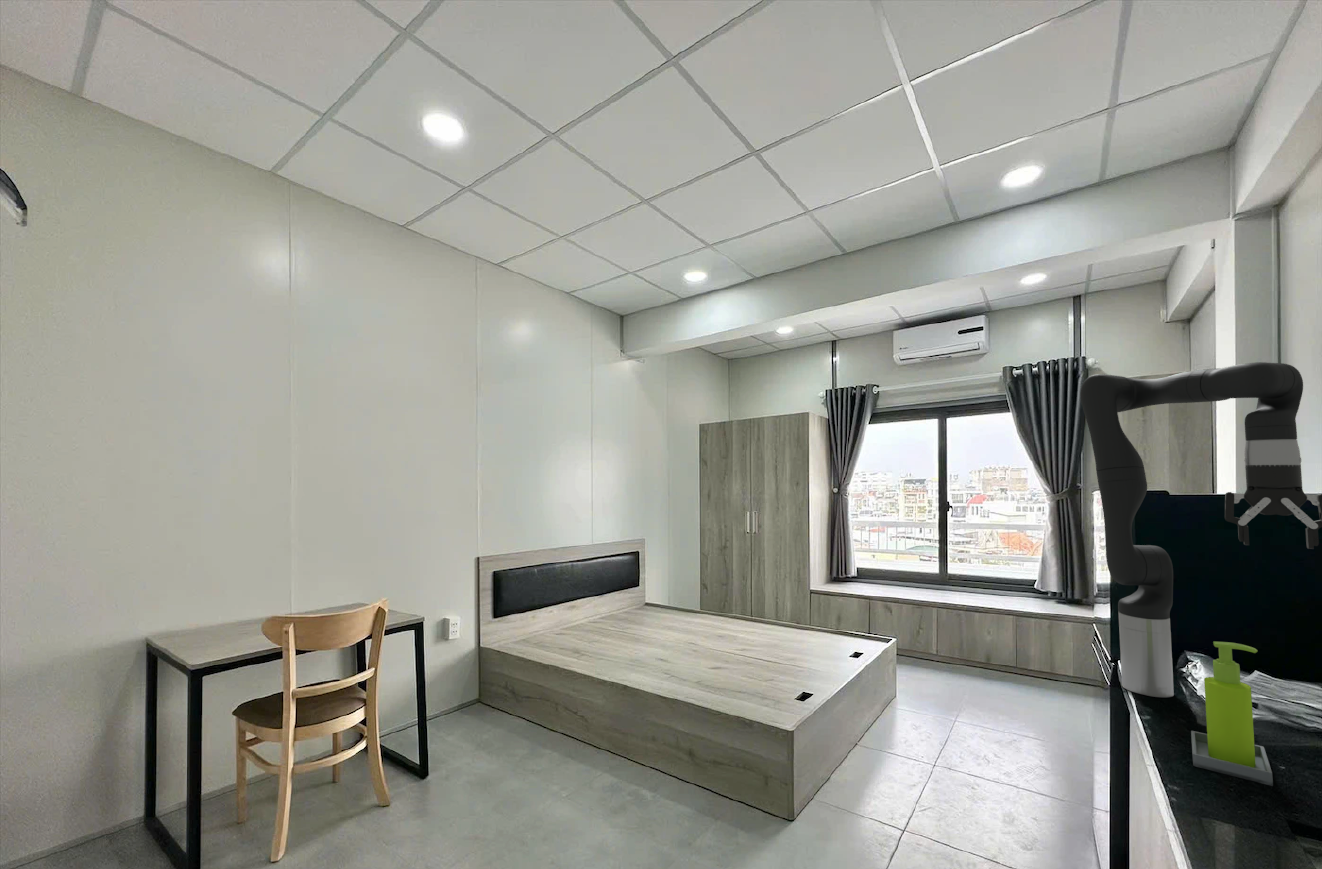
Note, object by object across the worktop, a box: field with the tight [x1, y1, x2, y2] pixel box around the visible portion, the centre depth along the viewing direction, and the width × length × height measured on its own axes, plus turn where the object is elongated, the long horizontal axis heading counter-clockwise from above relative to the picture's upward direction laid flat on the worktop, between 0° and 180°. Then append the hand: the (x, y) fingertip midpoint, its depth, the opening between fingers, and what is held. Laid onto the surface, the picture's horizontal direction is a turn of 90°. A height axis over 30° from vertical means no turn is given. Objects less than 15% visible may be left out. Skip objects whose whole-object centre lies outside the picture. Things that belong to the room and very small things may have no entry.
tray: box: [1190, 730, 1274, 787], centre depth 101 cm, size 12×10×2 cm
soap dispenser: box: [1203, 640, 1259, 767], centre depth 101 cm, size 6×7×20 cm
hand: (1277, 546), depth 112 cm, fingers open, 8 cm apart
